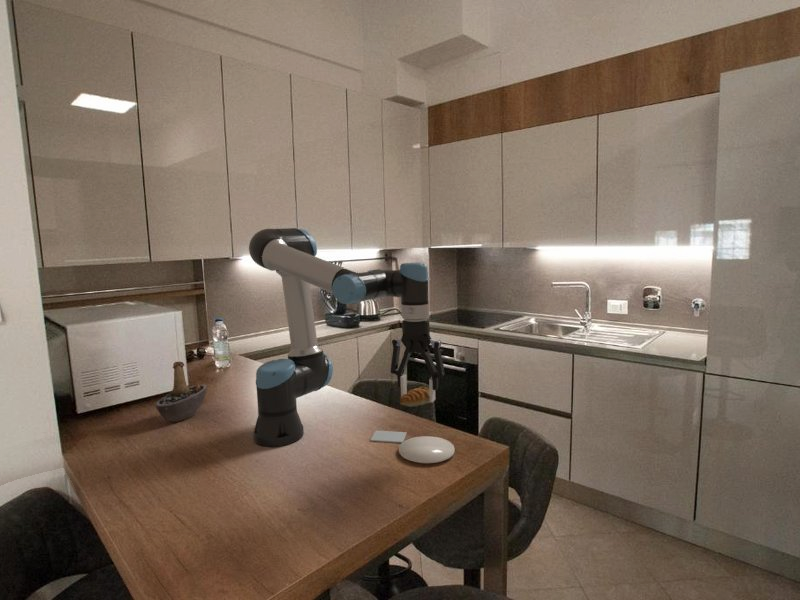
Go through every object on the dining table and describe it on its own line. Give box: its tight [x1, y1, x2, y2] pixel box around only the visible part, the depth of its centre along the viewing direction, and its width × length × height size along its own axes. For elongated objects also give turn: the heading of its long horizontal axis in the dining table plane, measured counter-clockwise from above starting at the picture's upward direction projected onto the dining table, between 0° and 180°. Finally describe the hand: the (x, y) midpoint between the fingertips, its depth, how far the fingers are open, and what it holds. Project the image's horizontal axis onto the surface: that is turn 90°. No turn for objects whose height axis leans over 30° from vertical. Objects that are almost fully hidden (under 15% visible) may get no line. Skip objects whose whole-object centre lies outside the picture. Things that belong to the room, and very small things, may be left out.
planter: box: [155, 361, 207, 423], centre depth 164 cm, size 15×17×20 cm
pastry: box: [399, 386, 431, 408], centre depth 133 cm, size 9×7×4 cm
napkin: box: [370, 430, 408, 444], centre depth 147 cm, size 10×7×1 cm
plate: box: [398, 435, 455, 464], centre depth 136 cm, size 16×16×1 cm
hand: (418, 399), depth 133 cm, fingers closed on pastry, 8 cm apart
